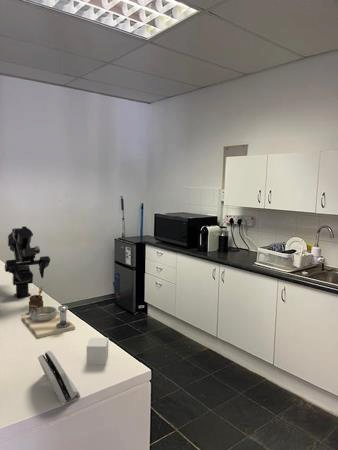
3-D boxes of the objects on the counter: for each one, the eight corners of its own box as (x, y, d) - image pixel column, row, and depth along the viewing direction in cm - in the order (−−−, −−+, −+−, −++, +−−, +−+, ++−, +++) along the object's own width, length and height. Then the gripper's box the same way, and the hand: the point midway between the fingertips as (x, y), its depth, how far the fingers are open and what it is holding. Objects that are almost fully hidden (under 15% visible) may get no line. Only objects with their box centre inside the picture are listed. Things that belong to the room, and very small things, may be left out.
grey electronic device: (81, 397, 88) (68, 367, 85) (64, 409, 86) (50, 378, 83) (61, 368, 102) (49, 341, 99) (46, 378, 99) (34, 350, 96)
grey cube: (90, 355, 110) (90, 337, 110) (108, 355, 111) (108, 337, 110) (86, 364, 105) (86, 346, 104) (105, 364, 105) (106, 346, 104)
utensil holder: (36, 309, 150) (36, 282, 148) (47, 311, 147) (46, 284, 146) (25, 313, 144) (25, 286, 143) (36, 316, 142) (35, 288, 140)
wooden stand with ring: (21, 318, 138) (21, 298, 137) (55, 311, 147) (55, 292, 146) (37, 338, 121) (37, 315, 120) (74, 329, 130) (74, 307, 129)
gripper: (5, 242, 145) (12, 272, 138) (48, 239, 157) (57, 267, 149) (1, 256, 152) (8, 286, 145) (43, 252, 164) (51, 280, 156)
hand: (32, 279), depth 149 cm, fingers open, 9 cm apart
